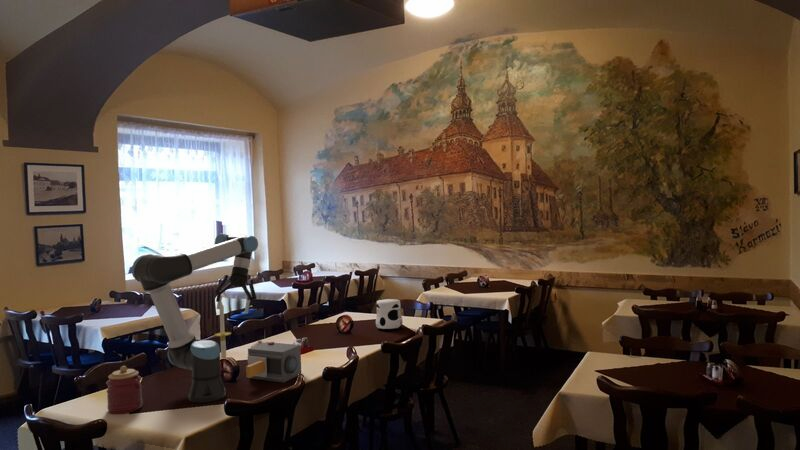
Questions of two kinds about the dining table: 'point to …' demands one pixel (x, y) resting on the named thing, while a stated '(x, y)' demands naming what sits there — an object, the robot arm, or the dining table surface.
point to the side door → (256, 367)
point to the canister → (124, 391)
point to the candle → (222, 332)
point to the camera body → (278, 360)
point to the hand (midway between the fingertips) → (232, 311)
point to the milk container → (388, 314)
